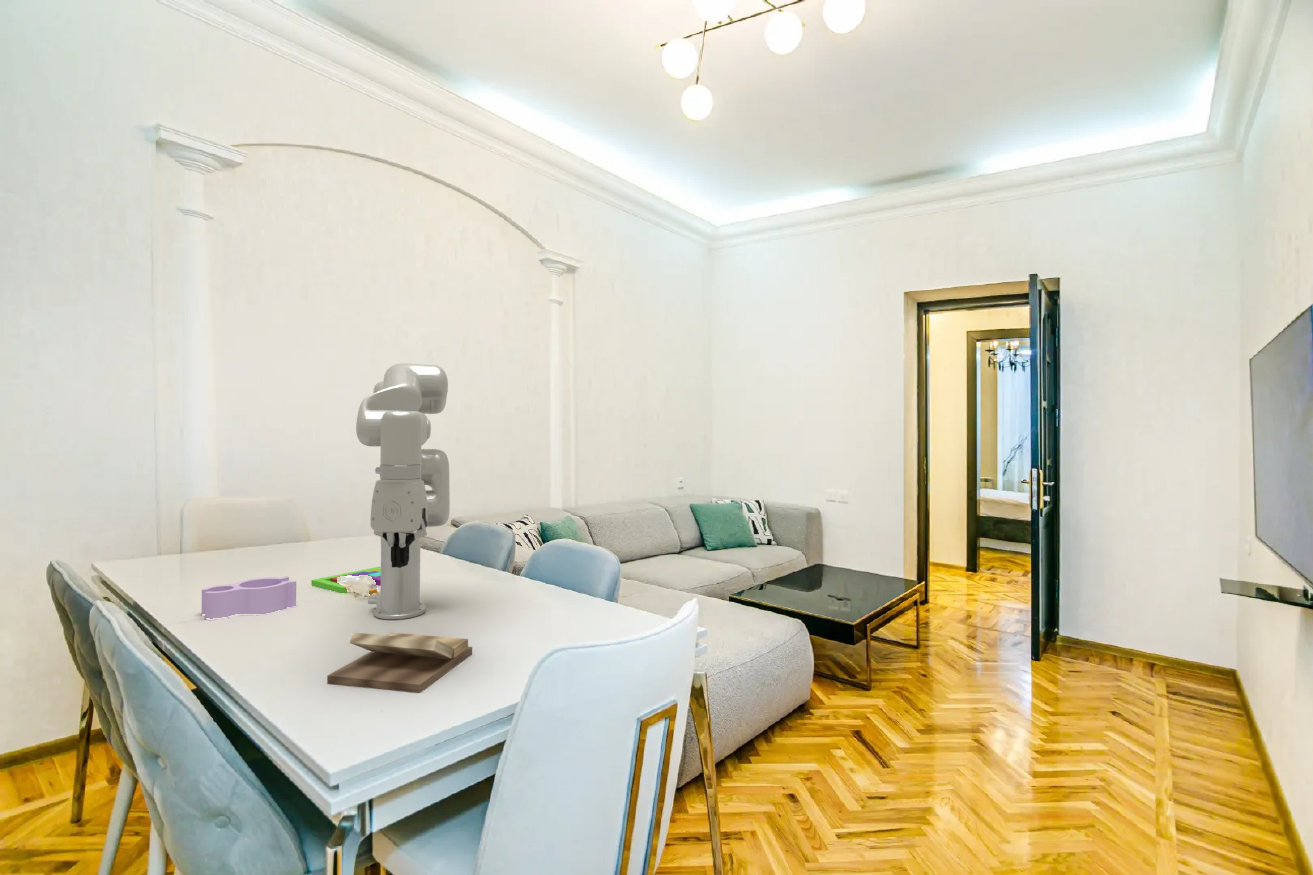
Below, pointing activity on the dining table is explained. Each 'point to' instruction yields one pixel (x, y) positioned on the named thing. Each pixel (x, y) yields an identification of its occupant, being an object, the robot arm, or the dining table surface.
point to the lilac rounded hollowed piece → (249, 597)
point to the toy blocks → (331, 581)
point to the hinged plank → (402, 645)
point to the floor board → (400, 667)
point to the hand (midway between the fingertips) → (399, 566)
